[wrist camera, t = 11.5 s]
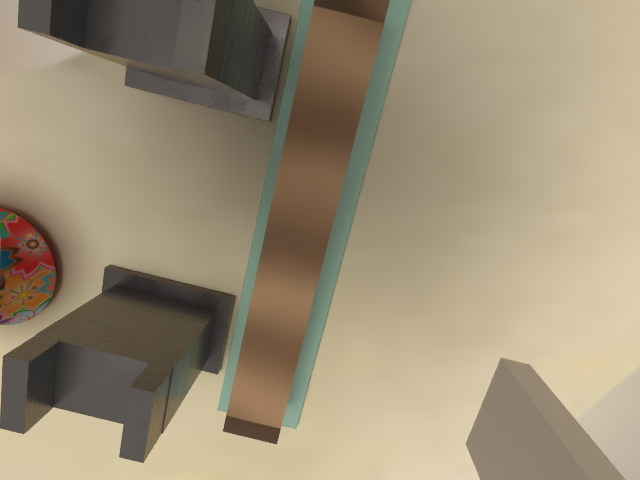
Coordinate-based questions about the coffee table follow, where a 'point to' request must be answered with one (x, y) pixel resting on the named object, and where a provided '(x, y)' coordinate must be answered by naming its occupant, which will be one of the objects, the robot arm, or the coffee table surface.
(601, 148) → the coffee table surface
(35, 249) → the mug
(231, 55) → the post
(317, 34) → the rail
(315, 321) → the mat
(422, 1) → the coffee table surface
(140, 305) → the post
